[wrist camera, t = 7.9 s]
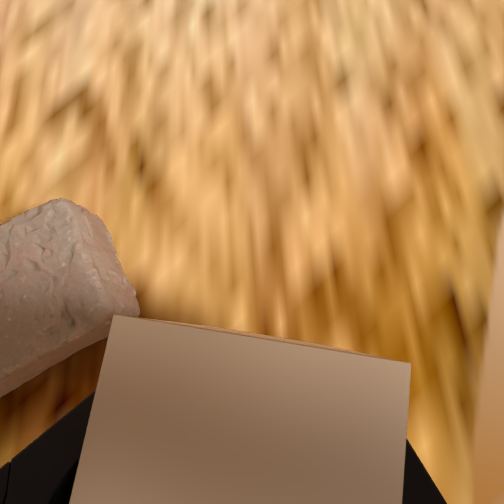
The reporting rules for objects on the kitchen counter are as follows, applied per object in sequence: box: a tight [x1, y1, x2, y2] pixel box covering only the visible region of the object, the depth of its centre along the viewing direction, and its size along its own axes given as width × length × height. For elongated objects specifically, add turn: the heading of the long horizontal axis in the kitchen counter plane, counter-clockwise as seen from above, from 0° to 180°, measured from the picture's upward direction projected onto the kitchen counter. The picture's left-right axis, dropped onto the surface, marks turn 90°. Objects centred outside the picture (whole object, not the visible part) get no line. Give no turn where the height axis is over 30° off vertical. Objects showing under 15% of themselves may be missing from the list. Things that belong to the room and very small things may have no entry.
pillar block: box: [69, 315, 411, 504], centre depth 10 cm, size 5×5×10 cm
